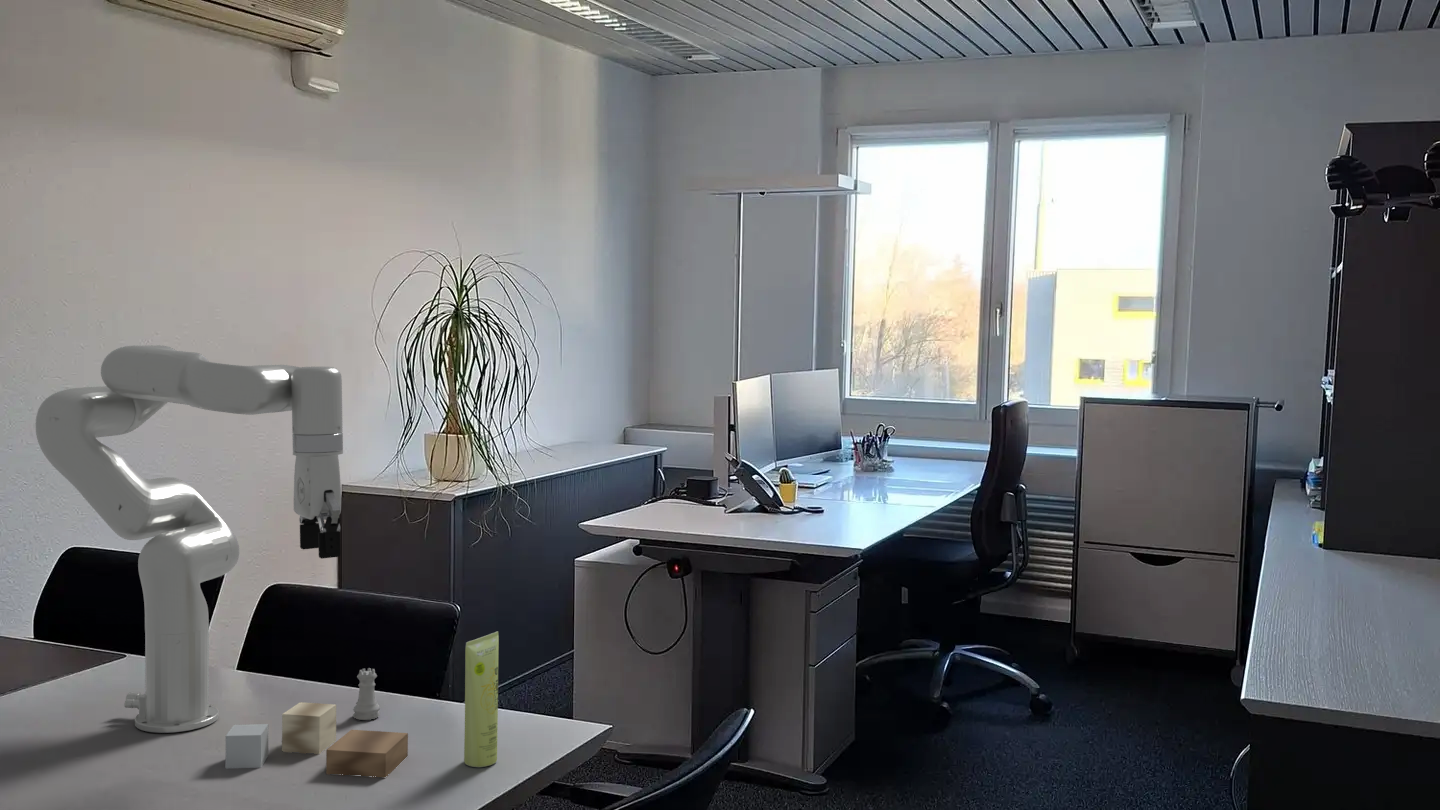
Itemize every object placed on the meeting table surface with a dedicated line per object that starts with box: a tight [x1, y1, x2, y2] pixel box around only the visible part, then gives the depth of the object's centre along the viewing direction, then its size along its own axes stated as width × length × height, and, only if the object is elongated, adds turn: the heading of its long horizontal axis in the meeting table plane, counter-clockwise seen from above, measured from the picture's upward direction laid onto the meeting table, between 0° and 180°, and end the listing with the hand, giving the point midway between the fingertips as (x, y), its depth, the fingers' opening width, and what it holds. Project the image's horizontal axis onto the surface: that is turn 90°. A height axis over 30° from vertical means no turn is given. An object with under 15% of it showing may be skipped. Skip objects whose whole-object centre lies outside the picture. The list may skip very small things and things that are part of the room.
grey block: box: [225, 723, 269, 770], centre depth 180 cm, size 5×5×5 cm
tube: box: [463, 631, 500, 768], centre depth 182 cm, size 6×5×20 cm
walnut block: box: [325, 729, 409, 778], centre depth 180 cm, size 9×9×4 cm
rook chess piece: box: [352, 667, 381, 721], centre depth 202 cm, size 4×4×8 cm
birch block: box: [281, 701, 337, 755], centre depth 187 cm, size 6×6×6 cm
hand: (319, 552), depth 190 cm, fingers open, 9 cm apart
